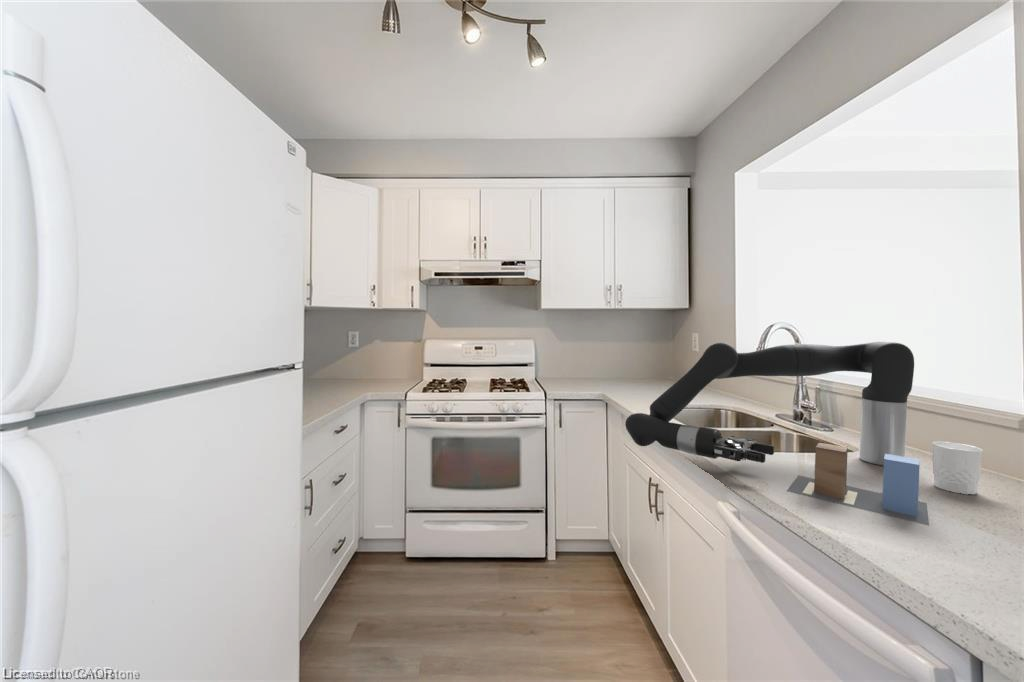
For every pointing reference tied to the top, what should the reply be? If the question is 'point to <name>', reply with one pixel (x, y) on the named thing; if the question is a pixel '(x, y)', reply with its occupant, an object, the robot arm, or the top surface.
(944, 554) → the top surface
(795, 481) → the letter mat
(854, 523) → the top surface
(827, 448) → the walnut block
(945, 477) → the white cup
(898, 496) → the blue block
